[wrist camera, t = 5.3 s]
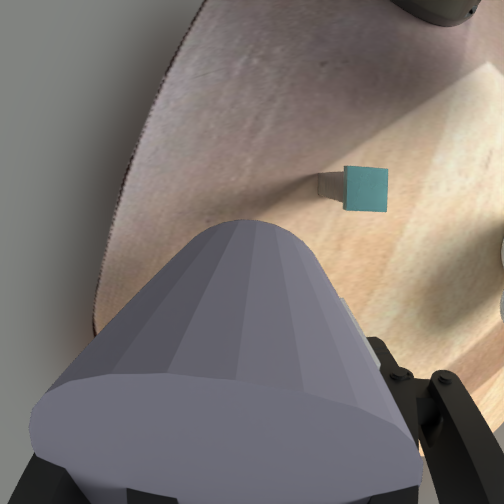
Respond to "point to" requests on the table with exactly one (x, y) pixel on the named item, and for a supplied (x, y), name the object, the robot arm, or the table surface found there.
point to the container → (229, 387)
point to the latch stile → (356, 188)
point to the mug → (503, 299)
